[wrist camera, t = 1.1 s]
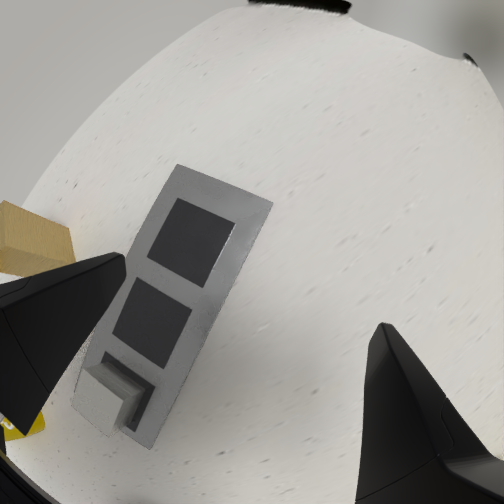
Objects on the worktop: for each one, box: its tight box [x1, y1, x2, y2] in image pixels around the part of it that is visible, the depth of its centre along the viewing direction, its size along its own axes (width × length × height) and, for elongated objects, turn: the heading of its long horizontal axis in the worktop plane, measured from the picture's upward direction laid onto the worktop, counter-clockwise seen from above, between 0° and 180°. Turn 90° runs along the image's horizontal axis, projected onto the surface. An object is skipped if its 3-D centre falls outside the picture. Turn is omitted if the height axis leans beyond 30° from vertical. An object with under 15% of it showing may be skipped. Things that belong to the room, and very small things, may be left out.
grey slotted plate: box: [74, 164, 273, 450], centre depth 23 cm, size 26×10×1 cm, turn 153°
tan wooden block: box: [0, 200, 76, 277], centre depth 21 cm, size 4×4×10 cm
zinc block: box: [71, 362, 145, 437], centre depth 20 cm, size 4×4×4 cm
